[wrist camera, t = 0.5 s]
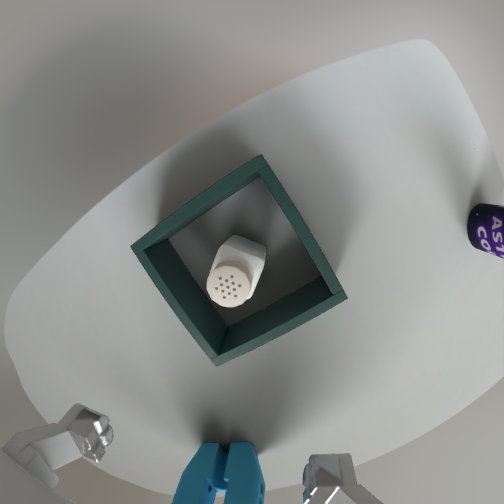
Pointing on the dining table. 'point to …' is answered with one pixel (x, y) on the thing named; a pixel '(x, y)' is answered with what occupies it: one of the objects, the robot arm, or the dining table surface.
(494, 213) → the beverage can
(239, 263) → the salt shaker
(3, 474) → the robot arm
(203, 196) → the bin
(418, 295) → the dining table surface
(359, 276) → the dining table surface
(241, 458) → the block
